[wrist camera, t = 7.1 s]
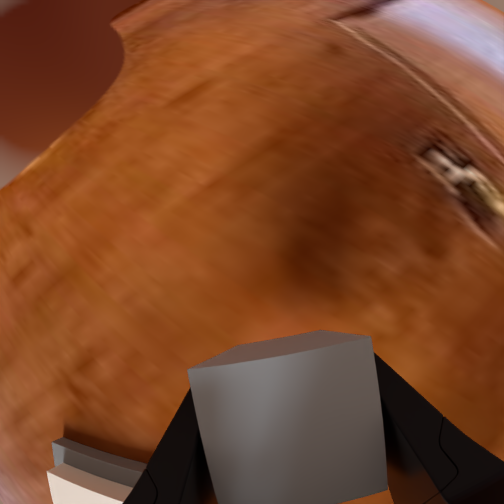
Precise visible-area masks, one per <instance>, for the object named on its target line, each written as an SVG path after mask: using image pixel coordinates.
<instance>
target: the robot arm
mask: <svg viewBox="0 0 504 504" xmlns="http://www.w3.org/2000/svg"><path fill="white" fill-rule="evenodd" d="M374 358H375V365H376V372H377V379H378V386H379V393H380V401H381V410H382V419H383V429H384V439H385V451H386V465H387V483H388V487H389V490H390V493H391V496H392V499H393V502H394V504H504V461H502V460H501V459H499V458H498V457H496V456H495V455H493V454H492V453H490V452H489V451H488V450H486V449H485V448H483V447H482V446H480V445H479V444H477V443H476V442H475V441H473V440H472V439H471V438H469V437H468V436H467V435H465V434H464V433H463V432H462V431H460V430H459V429H458V428H457V427H456V426H455V425H453V424H452V423H451V422H450V421H449V420H448V419H447V418H446V417H443V415H442V414H441V413H440V412H439V411H438V410H437V409H436V408H435V407H434V406H433V405H431V404H430V403H429V402H428V401H427V400H426V399H425V398H424V397H423V396H422V395H421V394H419V393H418V392H417V391H416V390H415V389H414V388H413V387H412V386H411V385H410V384H408V383H407V382H406V381H405V380H404V379H403V378H402V377H401V376H400V375H399V374H397V373H396V372H395V371H394V370H393V369H392V368H391V367H390V366H389V365H388V364H386V363H385V362H384V361H383V360H382V359H381V358H380V357H379V356H378V355H377V354H375V353H374ZM122 504H218V502H217V498H216V494H215V491H214V487H213V483H212V479H211V476H210V472H209V468H208V464H207V460H206V456H205V451H204V447H203V443H202V439H201V434H200V430H199V425H198V421H197V416H196V411H195V406H194V402H193V397H192V392H191V387H190V389H189V391H188V392H187V394H186V396H185V398H184V400H183V401H182V403H181V405H180V407H179V409H178V410H177V412H176V414H175V416H174V418H173V419H172V421H171V423H170V425H169V426H168V428H167V430H166V432H165V434H164V435H163V437H162V439H161V441H160V443H159V444H158V446H157V448H156V450H155V451H154V453H153V455H152V457H151V458H150V460H149V462H148V464H147V466H146V469H144V471H143V472H142V474H141V476H140V478H139V479H138V481H137V483H136V484H135V486H134V487H133V489H132V491H131V492H130V493H129V495H128V496H127V498H126V499H125V500H124V502H123V503H122Z"/></svg>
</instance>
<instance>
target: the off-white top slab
mask: <svg viewBox="0 0 504 504" xmlns="http://www.w3.org/2000/svg"><path fill="white" fill-rule="evenodd" d="M47 475H48V481H49V486H50V490H51V495H52V499H53V504H122V503H123V502H124V500H125V499H126V498H127V496H128V495H129V493H130V492H131V491H132V489H133V488H132V487H129V486H126V485H122V484H119V483H116V482H113V481H110V480H107V479H104V478H101V477H98V476H95V475H93V474H90V473H87V472H85V471H82V470H80V469H77V468H75V467H72V466H70V465H67V464H65V463H62V464H60V465H58V466H56V467H54V468H52V469H50V470H48V471H47Z"/></svg>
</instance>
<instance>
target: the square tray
mask: <svg viewBox="0 0 504 504" xmlns="http://www.w3.org/2000/svg"><path fill="white" fill-rule="evenodd" d="M52 448H53V456H54V463H55V467H56V466H58V465H60V464H62V463H65V464H67V465H70V466H72V467H75V468H77V469H80V470H82V471H85V472H87V473H90V474H93V475H95V476H98V477H101V478H104V479H107V480H110V481H113V482H116V483H119V484H122V485H126V486H129V487H132V488H133V487H134V486H135V484H136V483H137V481H138V479H139V478H140V476H141V474H142V472H143V471H144V469H146V466H147V464H146V463H142V462H138V461H134V460H131V459H127V458H123V457H120V456H116V455H113V454H110V453H107V452H103V451H100V450H97V449H94V448H91V447H88V446H85V445H83V444H80V443H77V442H74V441H72V440H69V439H66V438H64V437H62V438H60V439H57V440H55V441H53V442H52Z"/></svg>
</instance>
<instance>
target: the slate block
mask: <svg viewBox="0 0 504 504" xmlns="http://www.w3.org/2000/svg"><path fill="white" fill-rule="evenodd" d="M187 370H188V376H189V381H190V386H191V392H192V397H193V402H194V406H195V411H196V416H197V421H198V425H199V430H200V434H201V439H202V443H203V447H204V451H205V456H206V460H207V464H208V468H209V472H210V476H211V479H212V483H213V487H214V491H215V494H216V498H217V502H218V504H337V503H341V502H346V501H350V500H354V499H358V498H361V497H365V496H368V495H372V494H375V493H379V492H382V491H385V490H388V483H387V465H386V451H385V439H384V429H383V419H382V410H381V401H380V393H379V386H378V379H377V372H376V365H375V358H374V352H373V346H372V340H371V336H364V335H356V334H348V333H340V332H332V331H325V330H318V331H313V332H309V333H304V334H299V335H293V336H288V337H283V338H277V339H272V340H266V341H261V342H255V343H249V344H242V345H237V346H235V347H233V348H231V349H229V350H227V351H225V352H223V353H221V354H219V355H217V356H215V357H213V358H211V359H209V360H207V361H204V362H202V363H200V364H198V365H196V366H194V367H192V368H190V369H187Z"/></svg>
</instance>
